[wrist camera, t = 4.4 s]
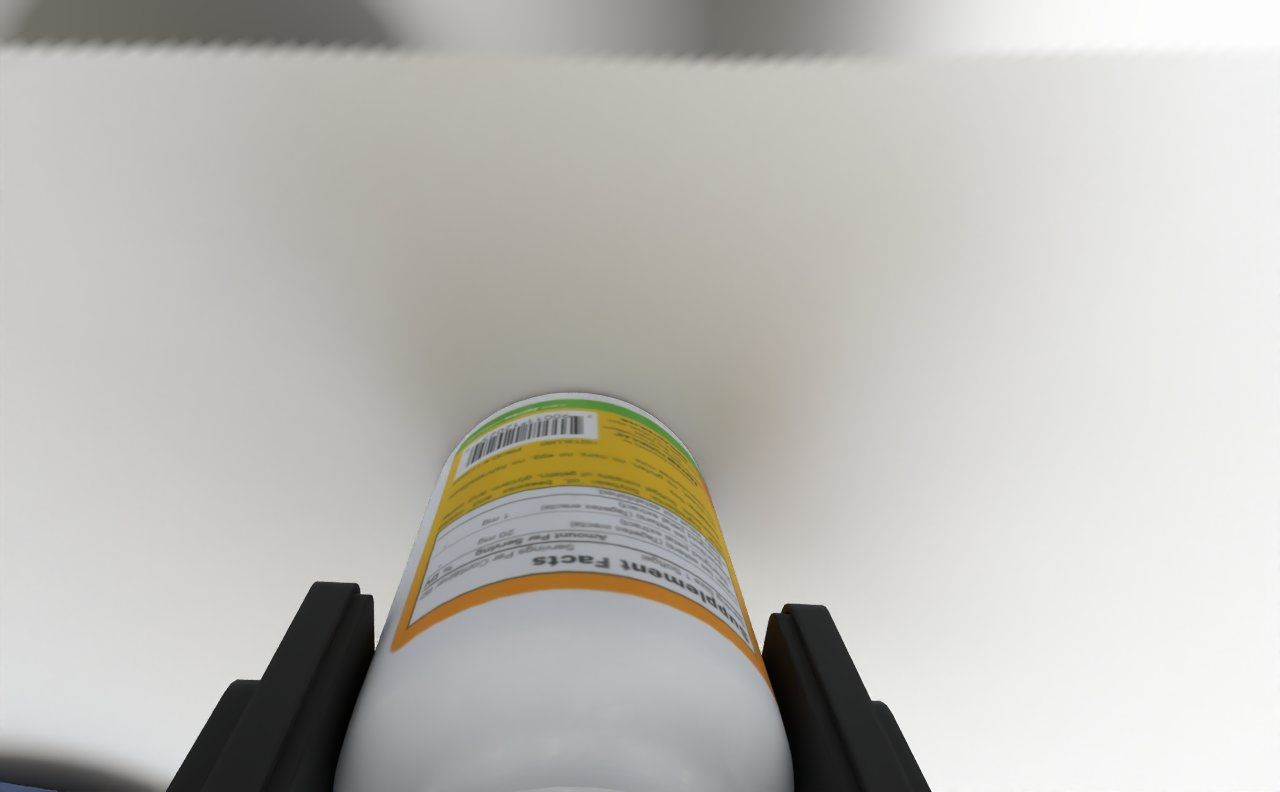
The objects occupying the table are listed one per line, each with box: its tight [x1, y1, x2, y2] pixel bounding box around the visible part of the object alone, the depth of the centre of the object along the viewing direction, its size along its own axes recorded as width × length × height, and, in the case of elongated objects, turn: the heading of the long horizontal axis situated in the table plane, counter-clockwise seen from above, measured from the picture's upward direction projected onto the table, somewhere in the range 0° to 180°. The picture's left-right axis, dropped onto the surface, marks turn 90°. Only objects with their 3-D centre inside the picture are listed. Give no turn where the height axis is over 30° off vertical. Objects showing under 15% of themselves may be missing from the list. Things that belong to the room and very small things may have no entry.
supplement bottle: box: [333, 393, 794, 792], centre depth 11 cm, size 5×5×10 cm
